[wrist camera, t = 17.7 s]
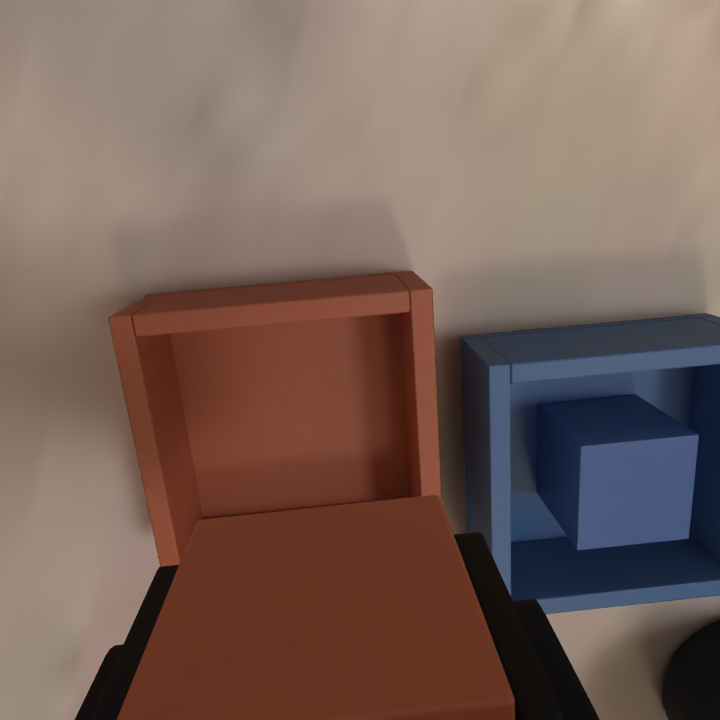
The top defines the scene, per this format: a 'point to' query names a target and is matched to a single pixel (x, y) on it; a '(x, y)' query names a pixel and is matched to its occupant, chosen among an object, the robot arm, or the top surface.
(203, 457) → the terracotta bin
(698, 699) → the pen holder
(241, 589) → the terracotta block
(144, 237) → the top surface
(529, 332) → the blue bin
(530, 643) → the robot arm
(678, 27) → the top surface
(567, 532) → the blue block
